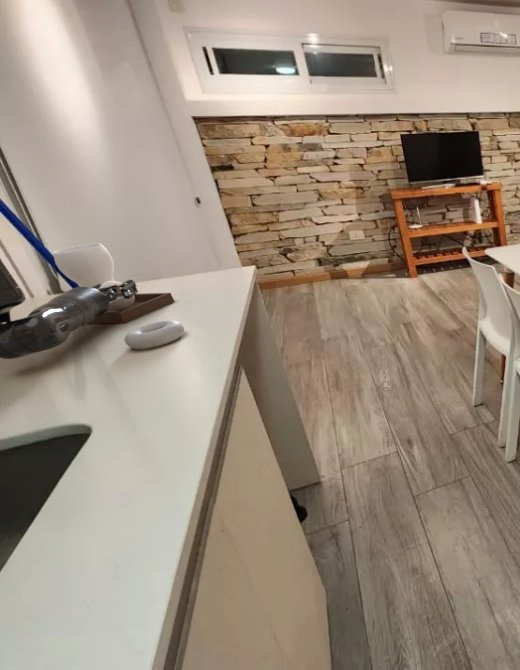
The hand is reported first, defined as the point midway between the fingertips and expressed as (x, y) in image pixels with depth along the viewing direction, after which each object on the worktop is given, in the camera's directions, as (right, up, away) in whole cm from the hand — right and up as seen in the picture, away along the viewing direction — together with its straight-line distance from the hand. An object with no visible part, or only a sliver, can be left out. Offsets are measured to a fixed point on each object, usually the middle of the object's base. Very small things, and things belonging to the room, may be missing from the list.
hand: (116, 285), depth 122 cm
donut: (+27, -14, -18) cm, 35 cm away
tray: (+1, -7, +1) cm, 7 cm away
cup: (-14, -3, +11) cm, 18 cm away
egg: (+1, -6, +1) cm, 7 cm away
